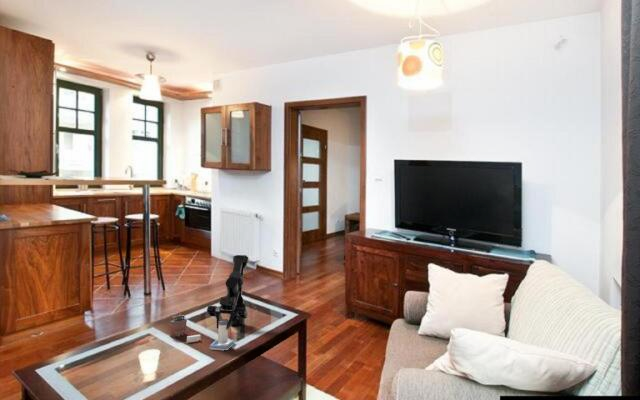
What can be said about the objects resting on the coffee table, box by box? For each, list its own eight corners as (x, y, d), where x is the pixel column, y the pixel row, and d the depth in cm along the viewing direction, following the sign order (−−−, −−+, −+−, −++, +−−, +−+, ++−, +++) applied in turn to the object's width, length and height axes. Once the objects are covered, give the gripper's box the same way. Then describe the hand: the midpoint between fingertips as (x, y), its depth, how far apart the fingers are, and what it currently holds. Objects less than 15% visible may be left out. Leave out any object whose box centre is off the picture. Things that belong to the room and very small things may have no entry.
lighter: (184, 332, 181) (185, 312, 181) (187, 334, 178) (188, 314, 178) (168, 336, 175) (169, 315, 175) (171, 338, 173) (172, 317, 173)
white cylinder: (225, 339, 168) (226, 318, 168) (228, 342, 164) (229, 321, 164) (216, 341, 165) (217, 319, 166) (219, 344, 162) (220, 322, 162)
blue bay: (217, 341, 170) (217, 338, 170) (234, 343, 169) (234, 339, 169) (209, 349, 161) (209, 345, 161) (227, 350, 160) (227, 346, 160)
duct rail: (199, 339, 172) (199, 334, 172) (200, 340, 170) (200, 335, 170) (186, 341, 168) (186, 336, 168) (187, 342, 167) (187, 337, 167)
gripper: (209, 288, 170) (197, 318, 159) (246, 291, 168) (237, 321, 157) (215, 300, 178) (204, 330, 167) (250, 303, 176) (242, 333, 165)
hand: (222, 328), depth 164 cm, fingers closed on white cylinder, 4 cm apart
